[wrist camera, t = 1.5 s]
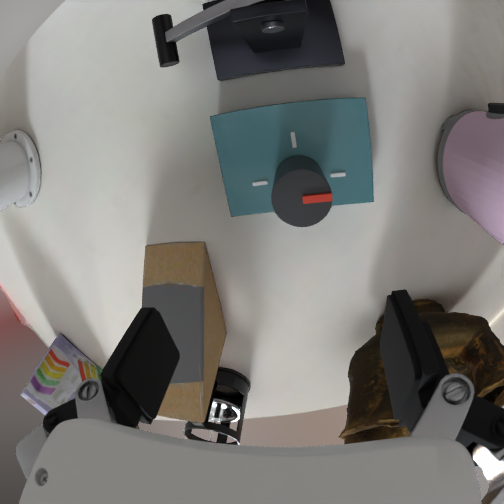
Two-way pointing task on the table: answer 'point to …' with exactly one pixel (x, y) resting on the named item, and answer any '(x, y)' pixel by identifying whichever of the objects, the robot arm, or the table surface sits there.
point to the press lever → (190, 27)
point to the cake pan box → (58, 376)
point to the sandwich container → (186, 323)
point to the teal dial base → (294, 149)
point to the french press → (224, 408)
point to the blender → (475, 166)
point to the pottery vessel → (456, 358)
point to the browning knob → (300, 192)
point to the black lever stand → (274, 38)
